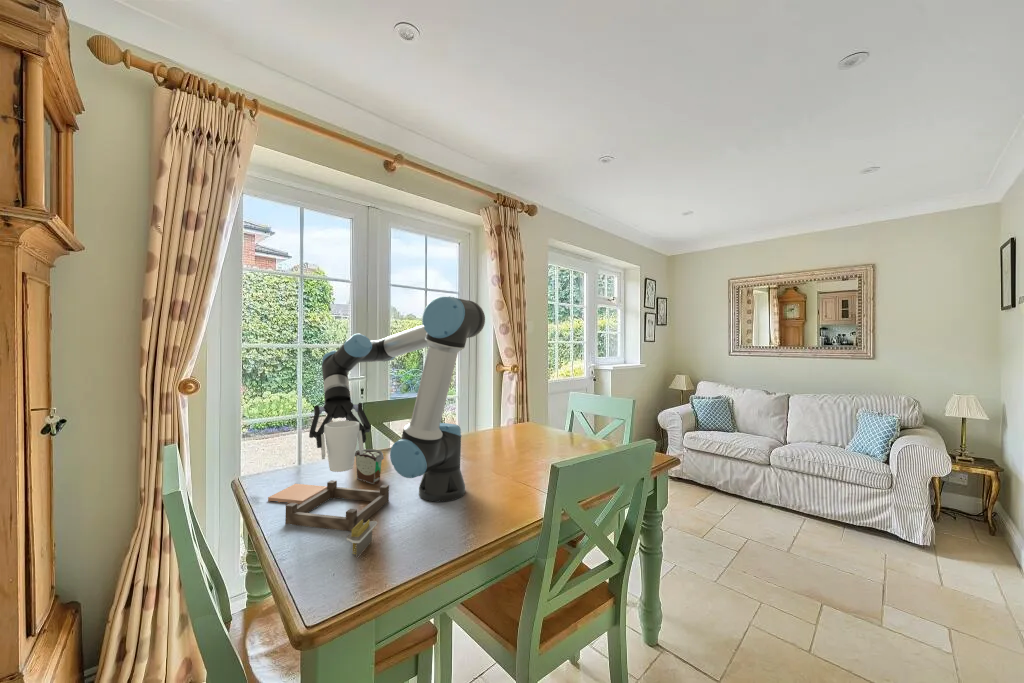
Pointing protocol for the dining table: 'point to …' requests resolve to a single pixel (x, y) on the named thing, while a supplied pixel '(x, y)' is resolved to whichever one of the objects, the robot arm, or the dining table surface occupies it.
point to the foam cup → (341, 444)
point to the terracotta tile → (297, 493)
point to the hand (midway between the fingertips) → (343, 454)
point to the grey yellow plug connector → (361, 536)
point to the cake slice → (369, 465)
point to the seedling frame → (303, 518)
